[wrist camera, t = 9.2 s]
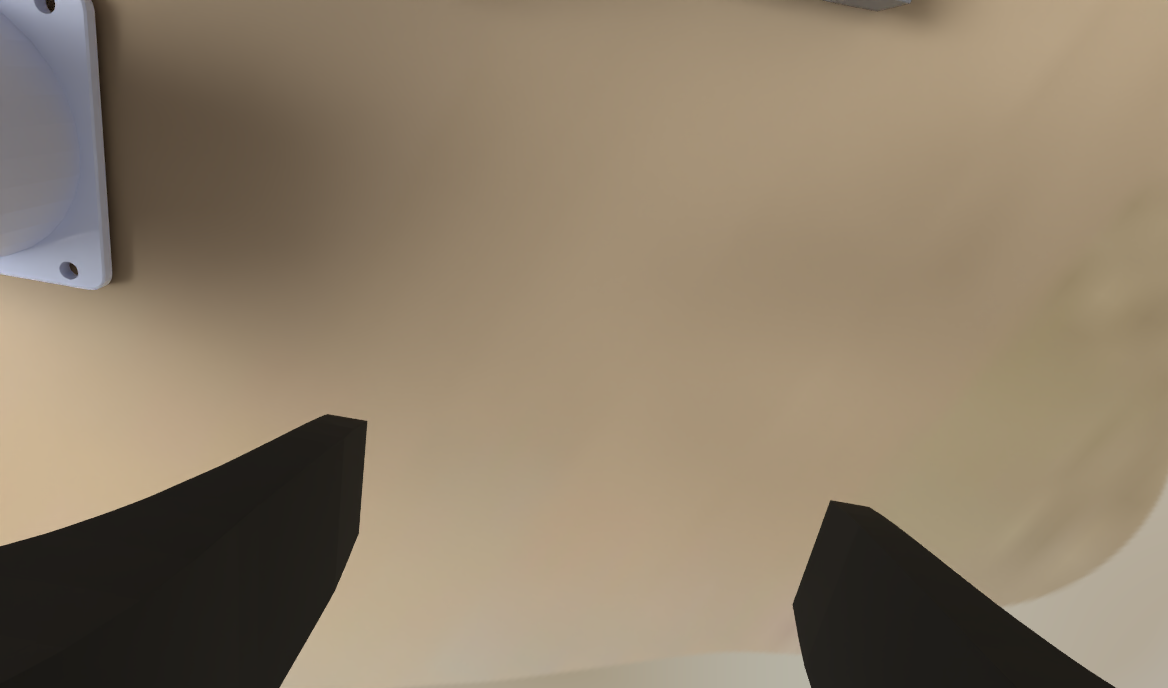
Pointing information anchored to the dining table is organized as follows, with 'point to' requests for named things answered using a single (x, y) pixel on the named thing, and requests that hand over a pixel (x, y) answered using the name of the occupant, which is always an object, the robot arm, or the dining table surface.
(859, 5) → the charcoal board
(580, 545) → the dining table surface
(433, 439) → the dining table surface
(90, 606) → the robot arm
